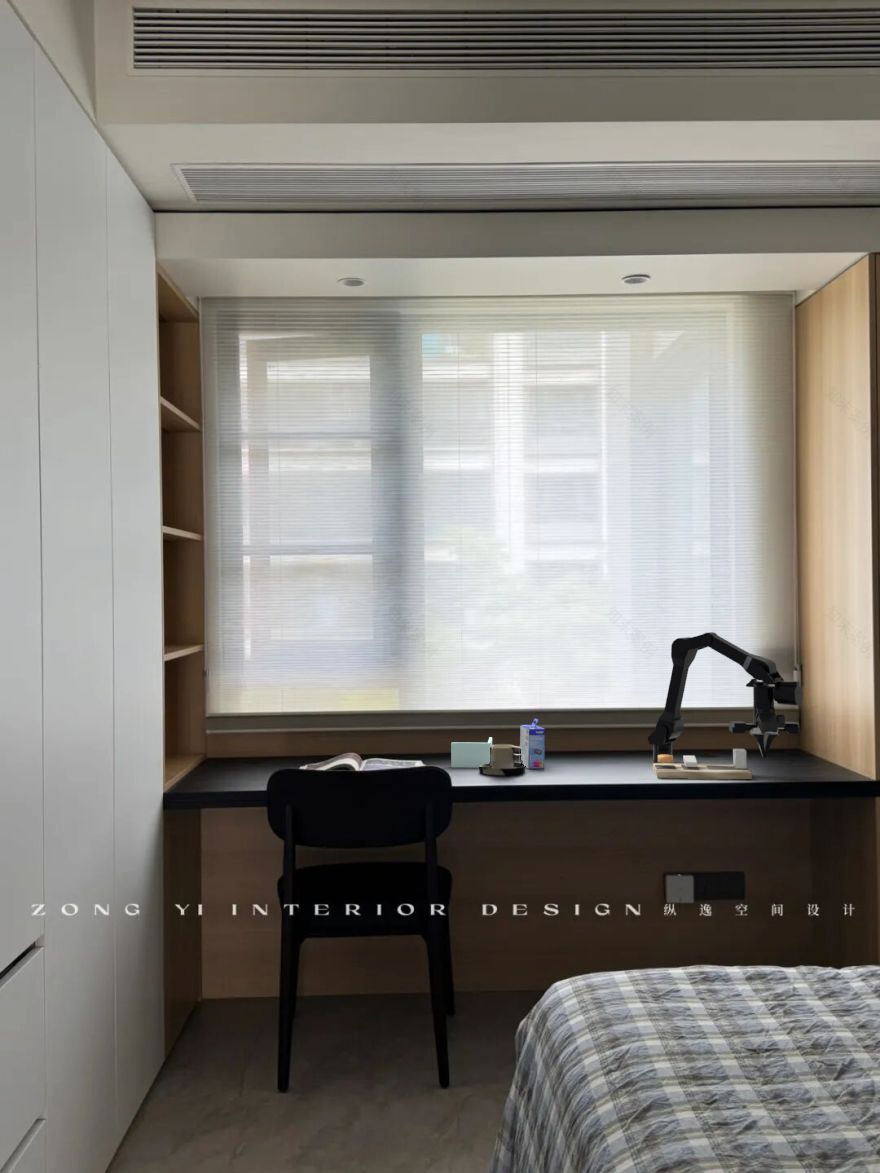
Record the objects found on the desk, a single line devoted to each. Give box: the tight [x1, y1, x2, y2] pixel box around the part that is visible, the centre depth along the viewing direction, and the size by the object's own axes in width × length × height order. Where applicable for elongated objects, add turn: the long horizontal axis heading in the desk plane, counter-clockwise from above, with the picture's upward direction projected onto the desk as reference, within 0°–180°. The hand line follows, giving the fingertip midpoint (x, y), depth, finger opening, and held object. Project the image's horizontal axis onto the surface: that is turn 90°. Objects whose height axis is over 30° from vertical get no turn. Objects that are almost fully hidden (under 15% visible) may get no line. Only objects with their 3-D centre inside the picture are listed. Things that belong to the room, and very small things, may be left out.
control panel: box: [652, 762, 753, 780], centre depth 282 cm, size 14×26×2 cm, turn 83°
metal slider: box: [732, 748, 747, 769], centre depth 281 cm, size 4×3×5 cm
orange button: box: [658, 754, 674, 763], centre depth 284 cm, size 4×4×2 cm
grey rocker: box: [682, 755, 698, 767], centre depth 283 cm, size 6×3×1 cm, turn 173°
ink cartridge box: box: [519, 718, 546, 770], centre depth 298 cm, size 10×6×14 cm, turn 11°
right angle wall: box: [450, 736, 493, 769], centre depth 303 cm, size 12×12×8 cm
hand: (764, 757), depth 280 cm, fingers closed
